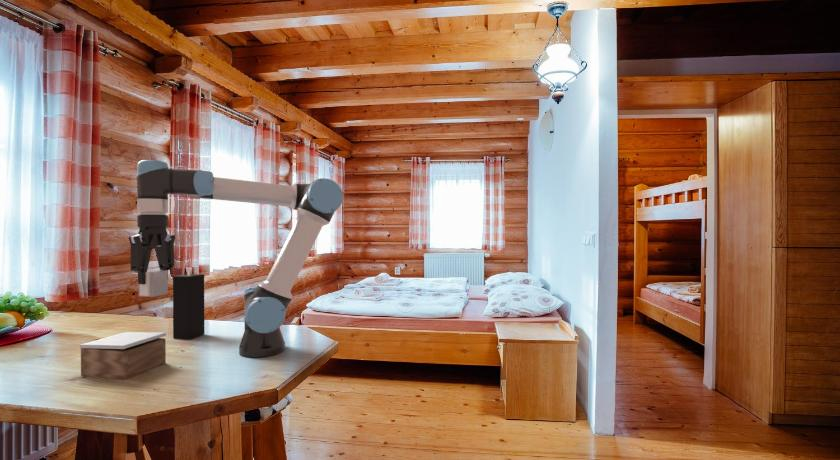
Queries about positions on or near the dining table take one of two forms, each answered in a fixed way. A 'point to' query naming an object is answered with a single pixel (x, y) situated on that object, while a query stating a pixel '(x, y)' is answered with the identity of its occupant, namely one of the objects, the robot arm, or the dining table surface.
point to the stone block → (157, 283)
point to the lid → (123, 340)
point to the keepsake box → (123, 360)
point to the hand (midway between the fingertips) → (153, 293)
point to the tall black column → (188, 305)
